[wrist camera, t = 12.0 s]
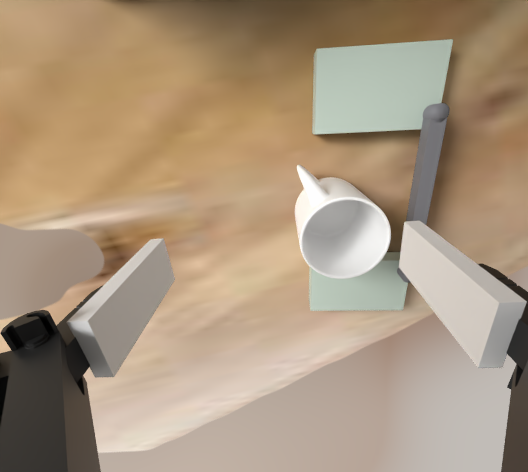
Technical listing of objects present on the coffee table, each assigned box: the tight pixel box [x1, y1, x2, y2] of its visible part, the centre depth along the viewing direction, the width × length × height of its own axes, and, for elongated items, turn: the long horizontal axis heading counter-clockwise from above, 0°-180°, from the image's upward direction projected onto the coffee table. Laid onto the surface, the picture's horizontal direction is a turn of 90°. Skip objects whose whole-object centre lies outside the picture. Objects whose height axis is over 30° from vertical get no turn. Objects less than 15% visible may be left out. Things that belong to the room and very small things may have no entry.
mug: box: [295, 165, 391, 279], centre depth 30 cm, size 9×12×11 cm
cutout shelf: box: [309, 39, 453, 311], centre depth 33 cm, size 32×13×4 cm, turn 3°
